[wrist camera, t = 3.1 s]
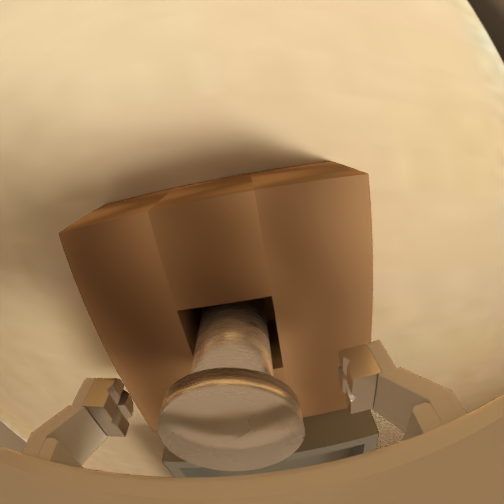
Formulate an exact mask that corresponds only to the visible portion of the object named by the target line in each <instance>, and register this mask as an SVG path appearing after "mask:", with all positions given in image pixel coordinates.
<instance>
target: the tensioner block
mask: <svg viewBox="0 0 504 504" xmlns="http://www.w3.org/2000/svg"><path fill="white" fill-rule="evenodd" d="M59 236H60V239H61V242H62V245H63V248H64V251H65V254H66V257H67V260H68V263H69V265H70V268H71V271H72V274H73V276H74V279H75V281H76V284H77V286H78V289H79V291H80V294H81V296H82V299H83V301H84V304H85V306H86V308H87V310H88V313H89V315H90V317H91V320H92V322H93V324H94V326H95V328H96V330H97V333H98V335H99V337H100V339H101V341H102V343H103V345H104V347H105V349H106V351H107V353H108V355H109V357H110V359H111V361H112V363H113V365H114V366H115V368H116V370H117V372H118V374H119V376H120V377H121V379H122V381H123V383H124V385H125V386H126V388H127V390H128V392H129V393H130V395H131V397H132V398H133V400H134V402H135V403H136V405H137V407H138V408H139V410H140V412H141V413H142V415H143V416H144V418H145V419H146V421H147V423H148V424H149V426H150V427H151V429H152V430H153V431H158V429H157V426H158V421H159V416H160V412H161V408H162V404H163V399H164V397H165V394H166V392H167V391H168V389H169V388H170V387H171V386H172V385H173V384H174V383H175V382H177V381H178V380H179V379H181V378H183V377H185V376H187V375H189V374H191V368H192V362H193V357H194V352H195V346H196V341H197V336H198V330H199V325H200V320H201V315H202V310H203V307H206V306H213V305H220V304H226V303H233V302H239V301H245V300H251V299H258V298H264V304H265V312H266V320H267V327H268V335H269V343H270V350H271V358H272V366H273V373H274V377H275V378H277V379H279V380H281V381H282V382H284V383H285V384H287V385H288V386H289V387H290V388H291V389H292V390H293V391H294V393H295V394H296V395H297V398H298V400H299V403H300V408H301V413H302V418H303V417H309V416H314V415H319V414H323V413H328V412H333V411H337V410H341V409H346V408H348V406H347V403H346V393H344V392H342V389H341V386H340V382H339V375H338V367H339V366H340V362H339V359H338V352H339V350H343V349H347V348H351V347H355V346H359V345H363V344H366V343H370V342H371V327H372V300H373V246H372V219H371V201H370V187H369V175H368V174H367V173H365V172H362V171H359V170H356V169H353V168H350V167H347V166H344V165H341V164H338V163H335V162H332V161H330V162H322V163H314V164H307V165H299V166H292V167H286V168H279V169H273V170H266V171H260V172H254V173H248V174H243V175H237V176H232V177H226V178H221V179H216V180H211V181H205V182H200V183H196V184H191V185H186V186H181V187H177V188H172V189H168V190H163V191H159V192H154V193H150V194H146V195H142V196H138V197H134V198H129V199H125V200H122V201H118V202H114V203H110V204H106V205H103V206H102V207H100V208H98V209H97V210H95V211H93V212H92V213H90V214H88V215H87V216H85V217H83V218H82V219H80V220H79V221H77V222H75V223H74V224H72V225H71V226H69V227H68V228H66V229H64V230H63V231H61V232H60V233H59Z"/></svg>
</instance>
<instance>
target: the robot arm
mask: <svg viewBox="0 0 504 504" xmlns="http://www.w3.org/2000/svg"><path fill="white" fill-rule="evenodd" d="M338 359H339V362H340V366H339V367H338V375H339V382H340V386H341V389H342V392H344V393H346V403H347V406H348V408H349V411H350V414H353V413H357V412H361V411H365V410H369V409H373V410H375V411H376V412H377V413H379V414H380V415H382V416H383V417H384V418H386V419H387V420H389V421H390V422H391V423H393V424H394V425H396V426H397V427H398V428H400V429H401V430H403V431H404V432H405V434H404V437H403V440H402V441H401V442H398V443H395V444H392V445H389V446H386V447H383V448H380V449H377V450H373V451H370V452H367V453H363V454H359V455H356V456H352V457H348V458H344V459H340V460H336V461H331V462H327V463H322V464H318V465H313V466H307V467H302V468H296V469H290V470H283V471H276V472H269V473H260V474H251V475H239V476H224V477H155V476H141V475H130V474H120V473H112V472H105V471H98V470H91V469H86V468H84V467H83V466H82V464H83V463H84V462H85V461H86V460H87V459H88V458H89V457H90V456H91V455H92V453H93V452H94V451H95V450H96V449H97V448H98V447H99V446H100V445H101V444H102V443H103V441H104V440H105V439H106V438H107V436H116V437H125V436H126V433H127V429H128V426H129V423H128V421H127V419H128V418H130V417H131V416H132V412H133V401H132V398H131V396H130V395H129V393H128V392H126V391H125V390H123V388H124V384H123V383H122V381H121V380H120V379H117V378H97V379H95V378H87V379H85V380H84V382H83V384H82V386H81V388H80V389H79V391H78V393H77V395H76V397H75V399H74V402H73V404H72V406H67V407H66V408H65V409H63V410H62V411H61V412H59V413H58V414H57V415H55V416H54V417H53V418H51V419H50V420H49V421H47V422H46V423H44V424H43V425H42V426H40V427H39V428H38V429H36V430H35V431H34V432H32V433H31V435H30V437H29V439H28V441H27V443H26V445H25V447H24V449H23V452H22V453H19V452H16V451H12V450H9V449H6V448H4V447H1V446H0V504H504V394H503V395H501V396H500V397H498V398H496V399H494V400H493V401H491V402H489V403H487V404H485V405H483V406H482V407H480V408H478V409H476V410H474V411H472V412H470V413H468V414H467V413H466V412H465V410H464V409H463V407H462V405H461V404H460V402H459V401H458V399H457V398H456V396H455V395H454V393H453V392H452V391H451V390H449V389H447V388H444V387H442V386H440V385H438V384H435V383H433V382H431V381H429V380H427V379H424V378H422V377H420V376H418V375H416V374H414V373H411V372H409V371H407V370H405V369H403V368H401V367H400V368H396V366H395V365H394V363H393V361H392V360H391V358H390V356H389V355H388V353H387V351H386V350H385V348H384V346H383V345H382V343H381V341H379V340H377V341H373V342H370V343H366V344H363V345H359V346H355V347H351V348H347V349H343V350H339V352H338Z"/></svg>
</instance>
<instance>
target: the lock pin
mask: <svg viewBox="0 0 504 504" xmlns="http://www.w3.org/2000/svg"><path fill="white" fill-rule="evenodd" d="M157 429H158V434H159V437H160V439H161V441H162V443H163V444H164V445H165V446H166V447H167V448H168V449H169V450H170V451H171V452H172V453H173V454H175V455H176V456H178V457H179V458H181V459H183V460H185V461H187V462H189V463H192V464H194V465H197V466H201V467H204V468H209V469H214V470H221V471H247V470H255V469H260V468H264V467H267V466H270V465H273V464H276V463H278V462H280V461H282V460H284V459H286V458H288V457H289V456H290V455H292V454H293V453H294V452H295V451H296V450H297V449H298V448H299V447H300V445H301V444H302V442H303V440H304V436H305V428H304V423H303V418H302V413H301V408H300V403H299V400H298V398H297V395H296V394H295V393H294V391H293V390H292V389H291V388H290V387H289V386H288V385H287V384H285V383H284V382H282V381H281V380H279V379H277V378H275V377H274V373H273V366H272V358H271V350H270V343H269V335H268V327H267V320H266V312H265V304H264V298H258V299H251V300H245V301H239V302H233V303H226V304H220V305H213V306H206V307H203V310H202V315H201V320H200V325H199V330H198V336H197V341H196V346H195V352H194V357H193V362H192V368H191V374H189V375H187V376H185V377H183V378H181V379H179V380H178V381H177V382H175V383H174V384H173V385H172V386H171V387H170V388H169V389H168V391H167V392H166V394H165V397H164V399H163V404H162V408H161V412H160V416H159V421H158V426H157Z"/></svg>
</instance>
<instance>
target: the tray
mask: <svg viewBox="0 0 504 504" xmlns="http://www.w3.org/2000/svg"><path fill="white" fill-rule="evenodd" d="M303 423H304V428H305V436H304V440H303V442H302V444H301V445H300V447H299V448H298V449H297V450H296V451H295V452H294V453H293V454H292V455H290V456H289V457H288V458H286V459H284V460H282V461H280V462H278V463H276V464H273V465H270V466H267V467H264V468H260V469H255V470H247V471H221V470H214V469H209V468H204V467H201V466H197V465H194V464H192V463H189V462H187V461H185V460H183V459H181V458H179V457H178V456H176V455H175V454H173V453H172V452H171V451H170V450H169V449H168V448H167V447H166V446H165V448H164V454H163V459H162V462H163V463H164V465H165V466H166V467H167V468H168V470H169V471H170V472H171V473H172V474H173V476H174V477H224V476H239V475H251V474H260V473H269V472H276V471H283V470H290V469H296V468H302V467H307V466H313V465H318V464H322V463H327V462H331V461H336V460H340V459H344V458H348V457H352V456H356V455H359V454H363V453H367V452H370V451H373V450H375V448H376V444H377V440H378V436H379V431H378V429H377V426H376V424H375V421H374V419H373V416H372V414H371V411H370V409H369V410H365V411H361V412H357V413H353V414H350V411H349V408H346V409H341V410H337V411H333V412H328V413H323V414H319V415H314V416H309V417H303Z"/></svg>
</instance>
